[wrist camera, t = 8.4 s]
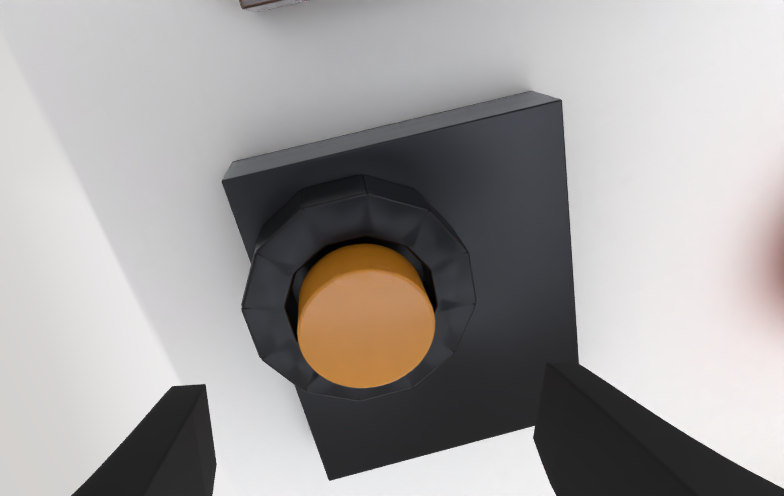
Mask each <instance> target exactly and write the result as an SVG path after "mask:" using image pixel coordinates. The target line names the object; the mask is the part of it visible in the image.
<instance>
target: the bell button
mask: <svg viewBox="0 0 784 496" xmlns="http://www.w3.org/2000/svg"><path fill="white" fill-rule="evenodd" d="M434 332H435V315H434V311H433V307H432V305H431V302H430V300H429V298H428V295H427V293H426V291H425V288H424V286H423V283H422V281H421V279H420V277H419V274H418V272H417V271H416V269H415V268H414V266H413V265H412V264H411V263H410V262H409V261H408V260H407V259H406V258H405V257H404V256H402V255H401V254H399V253H398V252H396V251H394V250H392V249H390V248H387V247H384V246H381V245H375V244H354V245H348V246H345V247H342V248H339V249H336V250H334V251H332V252H330V253H328V254H327V255H325V256H324V257H322V258H321V259H320V260H319V261H317V262H316V264H315V265H314V266H313V267H312V268H311V269H310V270H309V272H308V273H307V275H306V277H305V278H304V280H303V283H302V286H301V289H300V293H299V306H298V327H297V336H298V343H299V347H300V350H301V352H302V354H303V356H304V358H305V360H306V361H307V363H308V364H309V365H310V366H311V367H312V368H313V369H314V370H315V371H316V372H317V373H318V374H319V375H321V376H322V377H324V378H325V379H327V380H329V381H331V382H333V383H336V384H339V385H342V386H347V387H353V388H370V387H377V386H382V385H385V384H388V383H391V382H393V381H396V380H398V379H400V378H401V377H403V376H405V375H406V374H408V373H409V372H410V371H412V370H413V369H414V368H415V367H416V366H417V365H418V364H419V363H420V362H421V361H422V360H423V358H424V357H425V355H426V354H427V352H428V350H429V348H430V346H431V344H432V340H433V337H434Z"/></svg>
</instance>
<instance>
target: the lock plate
mask: <svg viewBox="0 0 784 496" xmlns="http://www.w3.org/2000/svg"><path fill="white" fill-rule="evenodd" d="M303 1H308V0H239V2H240V5H241V7H242V9H245V10H250V11H254V12H259V11H263V10H268V9H272V8H277V7H281V6H286V5H290V4H294V3H299V2H303Z"/></svg>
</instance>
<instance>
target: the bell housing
mask: <svg viewBox="0 0 784 496" xmlns="http://www.w3.org/2000/svg"><path fill="white" fill-rule="evenodd" d="M222 184H223V187H224V190H225V192H226V195H227V198H228V201H229V204H230V206H231V209H232V212H233V215H234V217H235V220H236V223H237V226H238V229H239V231H240V234H241V237H242V240H243V243H244V245H245V248H246V251H247V254H248V256H249V259H250V262H251V268H250V272H249V276H248V280H247V284H246V288H245V292H244V296H243V300H242V304H241V305H242V309H241V310H242V313H243V316H244V318H245V321H246V323H247V326H248V329H249V331H250V334H251V336H252V339H253V342H254V344H255V347H256V349H257V352H258V355H259V357H260V358H261V359H262V360H263V361H264V362H265V363H266V364H268V365H269V366H270V367H272V368H273V369H274V370H276V371H277V372H278V373H280V374H281V375H282V376H284V377H285V378H286V379H288V380H289V381H290V382H292V383H293V384H294V385H295V387H296V390H297V393H298V396H299V399H300V401H301V404H302V407H303V410H304V413H305V415H306V418H307V421H308V424H309V426H310V429H311V432H312V435H313V438H314V440H315V443H316V446H317V449H318V452H319V454H320V457H321V460H322V463H323V465H324V468H325V471H326V474H327V477H328V479H329V481H331V480H334V479H338V478H342V477H345V476H349V475H353V474H357V473H360V472H364V471H368V470H372V469H375V468H379V467H383V466H386V465H390V464H394V463H398V462H401V461H405V460H409V459H413V458H416V457H420V456H424V455H427V454H431V453H435V452H439V451H442V450H446V449H450V448H454V447H457V446H461V445H465V444H468V443H472V442H476V441H480V440H483V439H487V438H491V437H495V436H498V435H502V434H506V433H509V432H513V431H517V430H521V429H524V428H528V427H532V426H535V425H536V419H537V413H538V408H539V402H540V396H541V391H542V385H543V379H544V374H545V368H546V363H551V362H566V361H574V362H576V363H578V364H579V359H578V343H577V328H576V312H575V297H574V281H573V266H572V250H571V235H570V219H569V204H568V188H567V173H566V157H565V142H564V126H563V111H562V100H561V99H557V98H554V97H551V96H548V95H544V94H541V93H538V92H534V91H529V92H525V93H521V94H517V95H513V96H508V97H504V98H500V99H496V100H492V101H487V102H483V103H479V104H475V105H470V106H466V107H462V108H458V109H454V110H449V111H445V112H441V113H437V114H433V115H428V116H424V117H420V118H416V119H412V120H407V121H403V122H399V123H395V124H390V125H386V126H382V127H378V128H374V129H369V130H365V131H361V132H357V133H353V134H348V135H344V136H340V137H336V138H331V139H327V140H323V141H319V142H315V143H310V144H306V145H302V146H298V147H294V148H289V149H285V150H281V151H277V152H272V153H268V154H264V155H260V156H256V157H251V158H247V159H243V160H239V161H235V162H232V164H231V166H230V167H229V169H228V171H227V173H226V174H225V176H224V178H223V180H222ZM354 244H375V245H381V246H384V247H387V248H390V249H392V250H394V251H396V252H398V253H399V254H401V255H402V256H404V257H405V258H406V259H407V260H408V261H409V262H410V263H411V264H412V265H413V266H414V268H415V269H416V271H417V272H418V274H419V277H420V279H421V281H422V283H423V286H424V288H425V291H426V293H427V295H428V298H429V300H430V302H431V305H432V307H433V311H434V315H435V332H434V337H433V340H432V344H431V346H430V348H429V350H428V352H427V354H426V355H425V357H424V358H423V360H422V361H421V362H420V363H419V364H418V365H417V366H416V367H415V368H414V369H413V370H412V371H410V372H409V373H408V374H406V375H405V376H403V377H401V378H400V379H398V380H396V381H393V382H391V383H388V384H385V385H382V386H377V387H370V388H353V387H347V386H342V385H339V384H336V383H333V382H331V381H329V380H327V379H325V378H324V377H322V376H321V375H319V374H318V373H317V372H316V371H315V370H314V369H313V368H312V367H311V366H310V365H309V364H308V363H307V361H306V360H305V358H304V356H303V354H302V352H301V350H300V347H299V343H298V336H297V327H298V306H299V293H300V289H301V286H302V283H303V280H304V278H305V277H306V275H307V273H308V272H309V270H310V269H311V268H312V267H313V266H314V265H315V264H316V262H317V261H319V260H320V259H321V258H322V257H324V256H325V255H327V254H328V253H330V252H332V251H334V250H336V249H339V248H342V247H345V246H348V245H354Z"/></svg>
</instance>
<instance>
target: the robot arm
mask: <svg viewBox="0 0 784 496" xmlns="http://www.w3.org/2000/svg"><path fill="white" fill-rule="evenodd" d="M533 439H534V442H535V444H536V447H537V450H538V453H539V455H540V458H541V461H542V464H543V466H544V469H545V471H546V474H547V476H548V479H549V481H550V484H551V486H552V488H553V490H554V492H555V494H556V496H784V489H783V488H781V487H779V486H777V485H775V484H774V483H772V482H770V481H768V480H766V479H764V478H762V477H760V476H758V475H756V474H754V473H752V472H751V471H749V470H747V469H745V468H743V467H741V466H740V465H738V464H736V463H734V462H732V461H731V460H729V459H727V458H725V457H723V456H722V455H720V454H718V453H717V452H715V451H713V450H712V449H710V448H708V447H707V446H705V445H703V444H702V443H700V442H698V441H697V440H695V439H693V438H692V437H690V436H688V435H687V434H685V433H684V432H682V431H680V430H679V429H677V428H676V427H674V426H672V425H671V424H669V423H668V422H666V421H665V420H663V419H661V418H660V417H658V416H657V415H655V414H654V413H652V412H651V411H649V410H648V409H646V408H645V407H643V406H642V405H640V404H639V403H637V402H636V401H634V400H633V399H631V398H630V397H628V396H627V395H625V394H624V393H622V392H621V391H619V390H618V389H616V388H615V387H613V386H612V385H610V384H609V383H607V382H606V381H604V380H603V379H601V378H600V377H598V376H597V375H595V374H594V373H592V372H591V371H589V370H588V369H586V368H584V367H583V366H581V365H579V364H578V363H576V362H574V361H566V362H551V363H546V368H545V374H544V379H543V385H542V391H541V396H540V402H539V408H538V413H537V419H536V425H535V430H534V436H533ZM215 472H216V457H215V450H214V443H213V436H212V428H211V421H210V414H209V406H208V399H207V392H206V385H205V384H201V385H185V386H172V387H171V388H170V389H169V390H168V391H167V392H166V393H165V395H164V396H163V397H162V398H161V399H160V400H159V402H158V403H157V404H156V405H155V406H154V407H153V408H152V409H151V411H150V412H149V413H148V414H147V415H146V417H145V418H144V419H143V420H142V421H141V422H140V423H139V424H138V426H137V427H136V428H135V429H134V430H133V431H132V432H131V434H130V435H129V436H128V437H127V438H126V439H125V440H124V441H123V443H121V444H120V446H119V447H118V448H117V449H116V450H115V451H114V452H113V453H112V454H111V455H110V456H109V457H108V458H107V460H106V461H105V462H104V463H103V464H102V465H101V466H100V467H99V468H98V469H97V470H96V471H95V473H94V474H93V475H92V476H91V477H90V478H89V479H88V480H87V481H86V482H85V483H84V484H83V485H82V486H81V487H80V488H79V489H78V490H77V491H76V492H75V493H74V494H72V495H71V496H212V494H213V486H214V478H215Z"/></svg>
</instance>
